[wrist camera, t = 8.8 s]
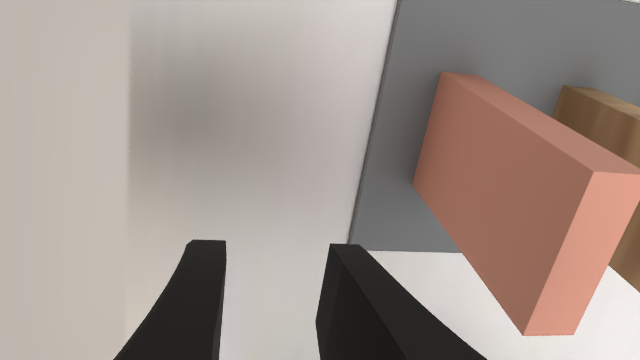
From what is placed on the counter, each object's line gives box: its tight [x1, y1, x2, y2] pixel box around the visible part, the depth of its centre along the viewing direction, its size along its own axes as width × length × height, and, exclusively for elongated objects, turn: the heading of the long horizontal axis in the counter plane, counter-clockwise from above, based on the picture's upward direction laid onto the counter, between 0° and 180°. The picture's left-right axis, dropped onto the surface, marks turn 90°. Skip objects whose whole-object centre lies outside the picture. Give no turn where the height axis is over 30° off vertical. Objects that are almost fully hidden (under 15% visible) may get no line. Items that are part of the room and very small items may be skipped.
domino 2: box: [551, 85, 640, 292], centre depth 18 cm, size 2×5×9 cm, turn 171°
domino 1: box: [412, 71, 640, 336], centre depth 16 cm, size 2×5×9 cm, turn 171°
